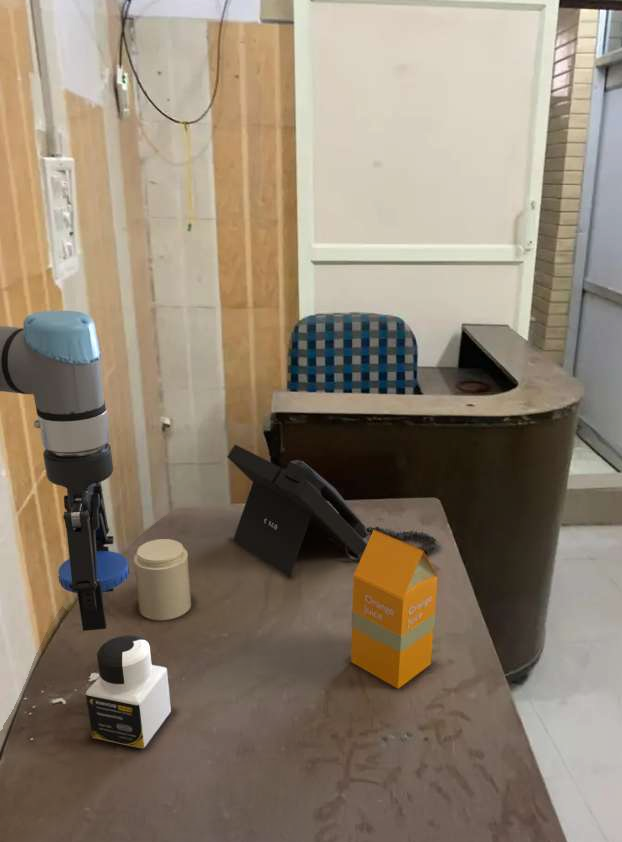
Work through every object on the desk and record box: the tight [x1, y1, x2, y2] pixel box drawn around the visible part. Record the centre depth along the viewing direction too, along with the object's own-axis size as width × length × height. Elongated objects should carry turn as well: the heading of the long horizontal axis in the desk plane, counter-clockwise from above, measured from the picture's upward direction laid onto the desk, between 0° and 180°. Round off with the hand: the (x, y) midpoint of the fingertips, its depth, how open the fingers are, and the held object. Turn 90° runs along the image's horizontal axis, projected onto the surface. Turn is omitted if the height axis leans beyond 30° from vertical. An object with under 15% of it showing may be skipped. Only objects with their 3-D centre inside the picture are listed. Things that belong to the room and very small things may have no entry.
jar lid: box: [58, 550, 130, 594], centre depth 97 cm, size 8×8×2 cm
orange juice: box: [350, 529, 439, 689], centre depth 105 cm, size 8×9×20 cm
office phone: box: [227, 444, 437, 578], centre depth 137 cm, size 29×28×20 cm
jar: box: [133, 538, 192, 621], centre depth 118 cm, size 8×8×10 cm
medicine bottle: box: [85, 635, 172, 749], centre depth 93 cm, size 7×7×12 cm
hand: (99, 608), depth 99 cm, fingers closed on jar lid, 8 cm apart
